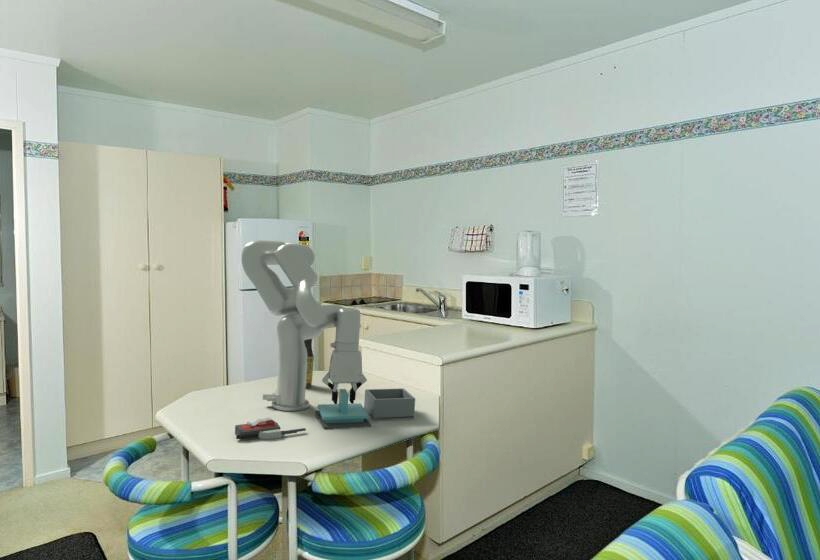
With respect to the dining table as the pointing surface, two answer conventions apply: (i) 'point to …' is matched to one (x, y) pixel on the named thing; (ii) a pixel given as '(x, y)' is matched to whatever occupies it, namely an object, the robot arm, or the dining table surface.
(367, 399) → the tub
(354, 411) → the lid
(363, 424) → the mat
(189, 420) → the dining table surface
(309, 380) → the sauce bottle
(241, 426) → the walkie-talkie
